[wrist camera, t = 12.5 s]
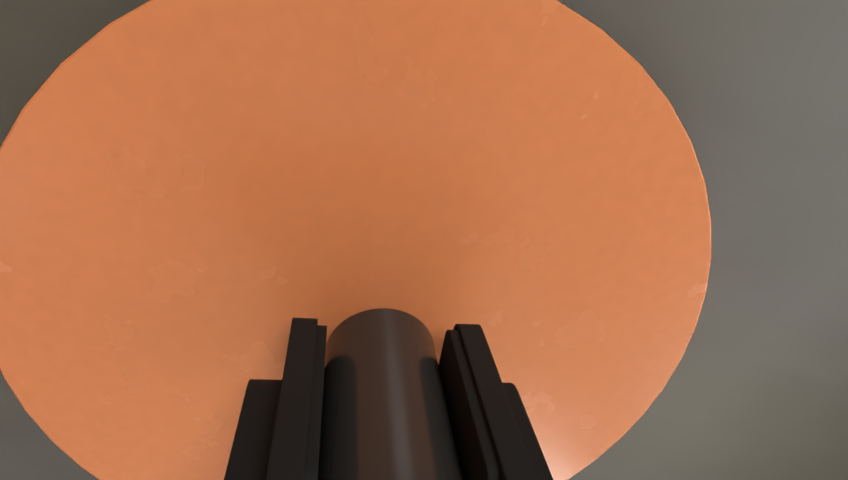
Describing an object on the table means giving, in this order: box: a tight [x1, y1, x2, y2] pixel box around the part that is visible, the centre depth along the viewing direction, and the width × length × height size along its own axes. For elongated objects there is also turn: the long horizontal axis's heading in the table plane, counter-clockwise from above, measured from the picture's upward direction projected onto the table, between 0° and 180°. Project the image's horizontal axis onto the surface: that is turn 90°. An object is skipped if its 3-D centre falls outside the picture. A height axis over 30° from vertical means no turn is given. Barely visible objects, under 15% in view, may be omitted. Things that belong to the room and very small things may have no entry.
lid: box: [0, 0, 711, 480], centre depth 10 cm, size 17×17×6 cm
